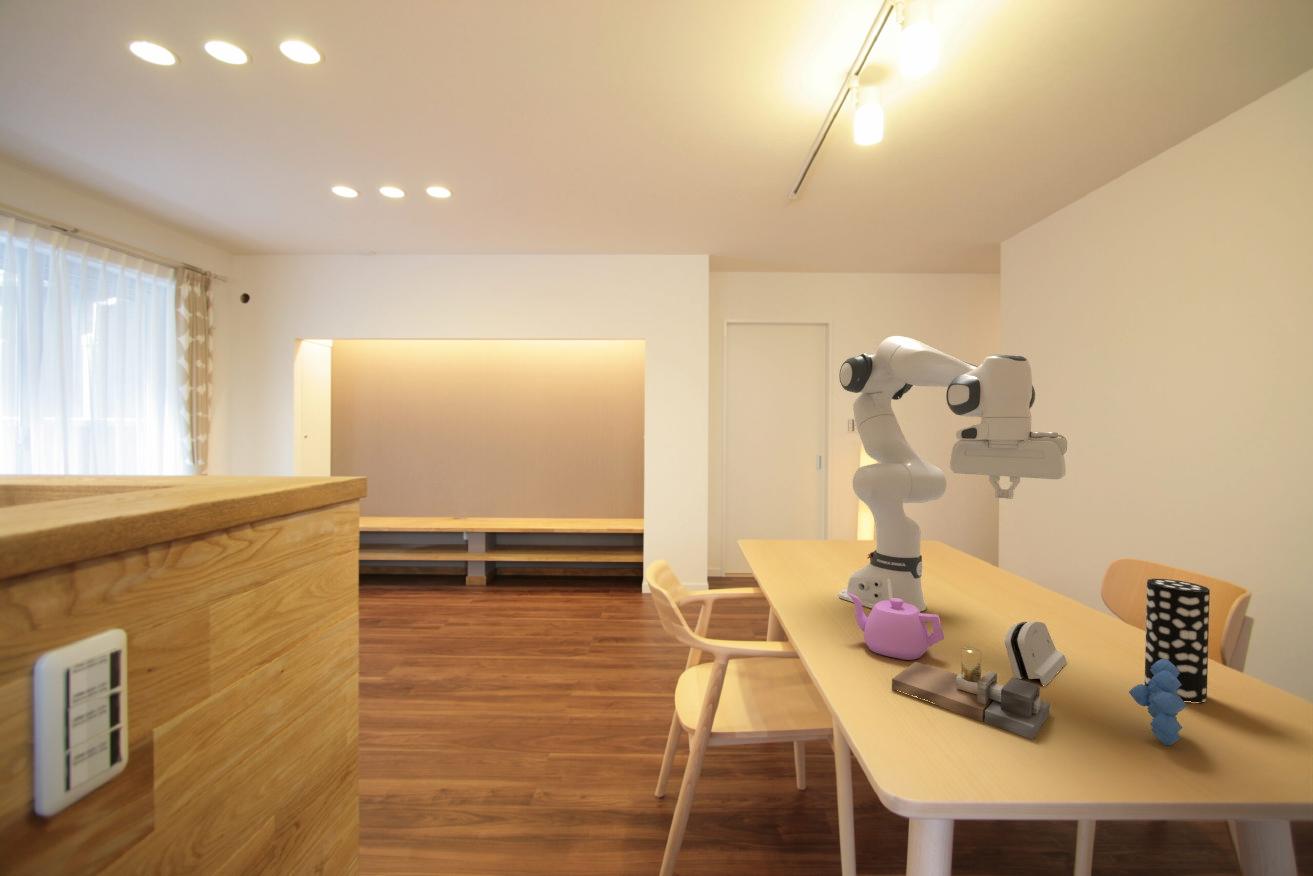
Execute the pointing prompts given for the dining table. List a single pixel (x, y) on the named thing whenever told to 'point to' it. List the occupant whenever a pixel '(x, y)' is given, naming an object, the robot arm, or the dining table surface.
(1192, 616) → the white-spotted black cylinder
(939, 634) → the teapot
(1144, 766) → the dining table surface
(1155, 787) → the dining table surface
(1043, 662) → the light grey rounded piece
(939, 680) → the door board
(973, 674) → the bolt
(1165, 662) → the grapes
